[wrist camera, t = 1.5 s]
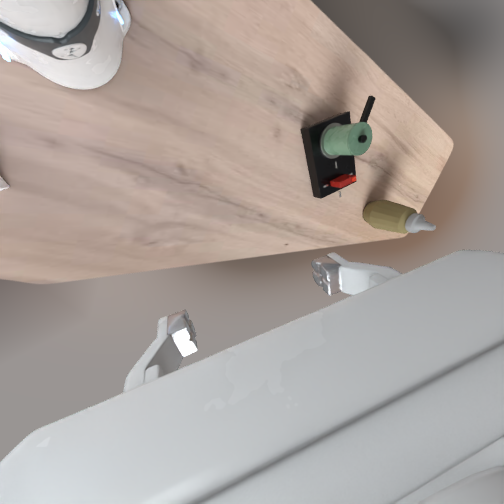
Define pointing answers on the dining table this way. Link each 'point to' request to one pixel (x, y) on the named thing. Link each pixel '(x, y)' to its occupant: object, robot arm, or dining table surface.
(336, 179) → the knob
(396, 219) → the squeeze bottle
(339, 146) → the saucepan
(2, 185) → the milk
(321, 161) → the hob
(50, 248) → the dining table surface
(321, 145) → the burner
